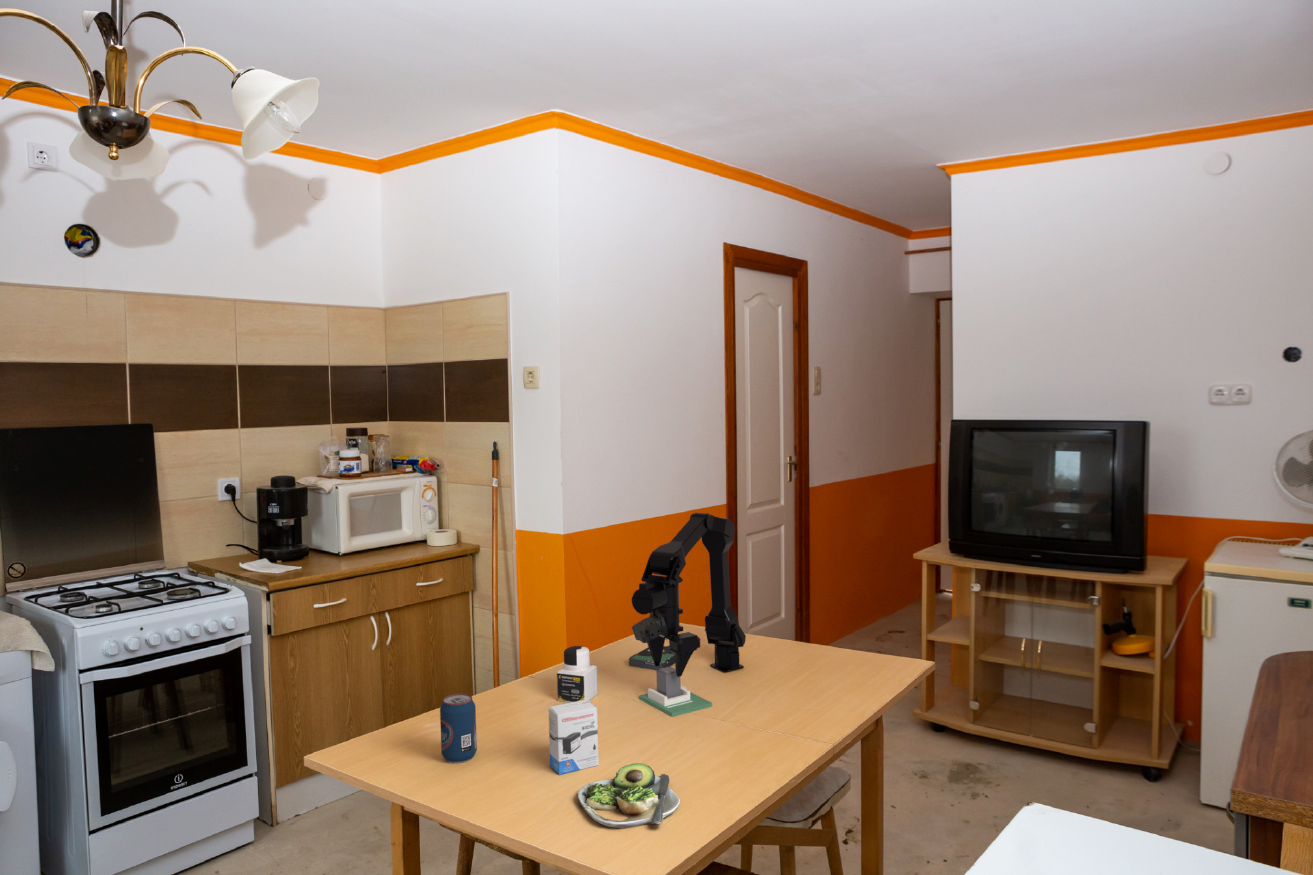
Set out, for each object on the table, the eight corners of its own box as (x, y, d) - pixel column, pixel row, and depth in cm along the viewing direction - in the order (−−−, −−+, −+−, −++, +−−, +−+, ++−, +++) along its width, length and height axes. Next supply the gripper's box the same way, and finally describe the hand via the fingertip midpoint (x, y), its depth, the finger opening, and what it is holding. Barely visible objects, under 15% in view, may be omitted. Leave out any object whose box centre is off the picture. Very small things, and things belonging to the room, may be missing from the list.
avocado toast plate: (703, 823, 148) (703, 797, 147) (602, 845, 141) (601, 817, 141) (661, 777, 166) (661, 753, 165) (570, 794, 159) (569, 769, 159)
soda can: (436, 756, 176) (433, 697, 176) (467, 747, 180) (466, 689, 180) (450, 767, 171) (448, 707, 170) (483, 758, 175) (481, 699, 174)
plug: (657, 697, 205) (656, 668, 204) (673, 693, 207) (672, 665, 207) (666, 702, 201) (665, 673, 201) (682, 698, 204) (682, 669, 203)
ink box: (558, 775, 166) (556, 714, 166) (549, 765, 171) (547, 706, 170) (599, 765, 170) (598, 706, 170) (589, 756, 175) (588, 698, 174)
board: (639, 698, 207) (638, 686, 206) (677, 688, 213) (677, 677, 212) (672, 716, 195) (671, 704, 195) (712, 706, 201) (711, 694, 201)
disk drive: (654, 652, 244) (628, 667, 231) (654, 642, 244) (628, 657, 231) (688, 657, 239) (663, 672, 226) (688, 647, 239) (662, 662, 226)
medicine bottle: (557, 701, 206) (555, 650, 205) (571, 691, 213) (570, 642, 212) (584, 704, 203) (583, 653, 203) (597, 694, 210) (596, 645, 209)
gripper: (616, 601, 206) (617, 667, 207) (659, 618, 190) (660, 689, 191) (656, 595, 212) (657, 658, 213) (701, 610, 196) (702, 679, 197)
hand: (668, 671), depth 203 cm, fingers open, 9 cm apart
